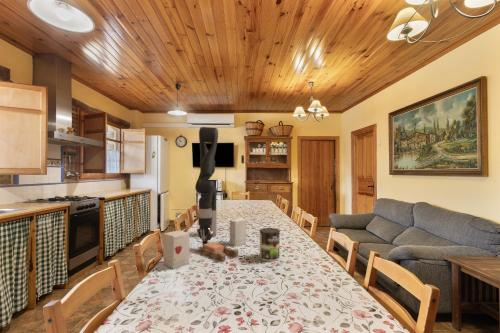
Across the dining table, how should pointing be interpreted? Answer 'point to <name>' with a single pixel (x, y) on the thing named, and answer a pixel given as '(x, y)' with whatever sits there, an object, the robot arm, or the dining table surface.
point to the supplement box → (176, 249)
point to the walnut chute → (217, 255)
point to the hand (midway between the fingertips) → (205, 247)
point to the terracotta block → (214, 247)
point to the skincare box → (237, 232)
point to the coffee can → (269, 244)
